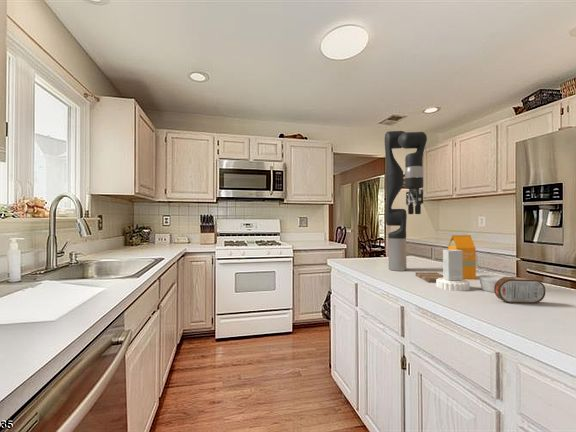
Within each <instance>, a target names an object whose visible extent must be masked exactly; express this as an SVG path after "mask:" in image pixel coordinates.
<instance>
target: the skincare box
mask: <svg viewBox="0 0 576 432" xmlns="http://www.w3.org/2000/svg"><path fill="white" fill-rule="evenodd" d="M442 265H443V266H442V267H443V269H442V275H443V278H444V279H446V280H463V251H462V250H448V249H442Z"/></svg>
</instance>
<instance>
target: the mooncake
mask: <svg viewBox="0 0 576 432" xmlns="http://www.w3.org/2000/svg"><path fill="white" fill-rule="evenodd" d="M435 285H436V288H438V289H441V290H445V291H446V290H447V291H454V292H467V291H469V290H470V289H471V287H470V285H471V284H470V282H469V281H468V279H463V280H446V279H444V278H438V279H436V283H435Z"/></svg>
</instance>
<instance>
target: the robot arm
mask: <svg viewBox="0 0 576 432" xmlns="http://www.w3.org/2000/svg"><path fill="white" fill-rule="evenodd" d="M427 141H428V137H427V133H425V132H424V131H412V132H407V131H403V130H392V131H391V130H390V131H389V130H388V131H386V132H385V135H384V152H385V198H386V199H385V224H386V226H389V227H391V226H393V227H395V226H397V227H399V228H397V229H396V230H394V231H391V232H389V233H388V235H387V236H388V237H387V238H388V240H387V243H388V270H389V271H395V272H403V271H407V218H408V215H414V214H415V215H421V214H422V210H421V209H422V207H421V206H422V205H423V204H424V190H423V188H424V167H423V166H424V165H423V161H424V160H423V158H424V157H423V156H424V151H425V148H426V144H427ZM393 149H407V150H409V149H416V151H415V152H411V153H408V154H406V155H405V159H404V161H405V163H404V164H405V166H404V167H405V168H404V169H405V170H403V169H402V167H401V165H400V164H399V162H398V161H397V159H395V157H394V156H395V155H394V153H393ZM403 187H404V188H405V189H406V190H407V189H408V191H406V192H405V205H406V206H407V210H406V209H405V208H392V206H393V204H394V202H395V199H396V198H397V196H398V194H399V193H400V192H401V190H402V188H403ZM407 212H408V213H407ZM407 214H408V215H407Z"/></svg>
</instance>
